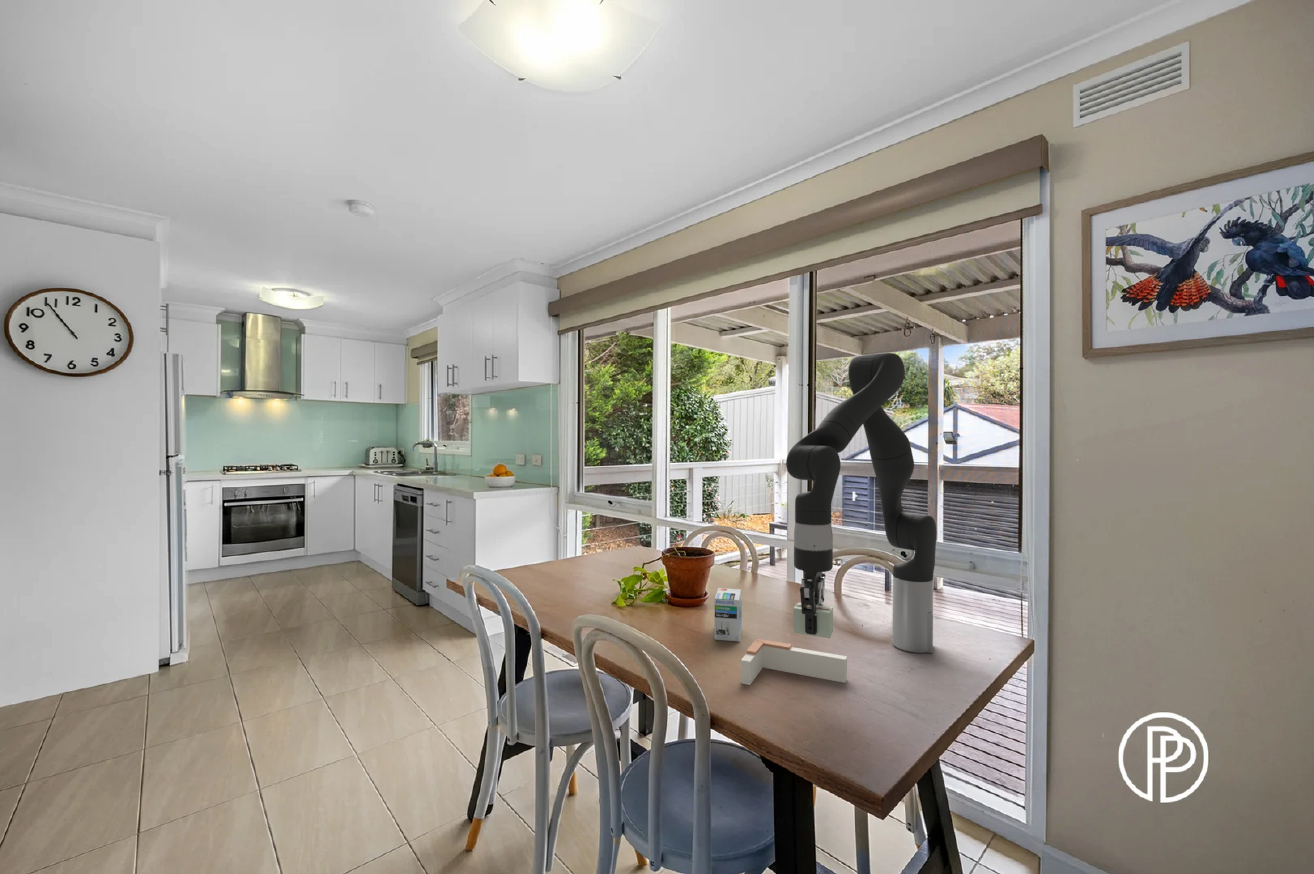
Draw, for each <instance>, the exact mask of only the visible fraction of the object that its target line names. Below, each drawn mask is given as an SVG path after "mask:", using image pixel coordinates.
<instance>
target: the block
mask: <svg viewBox="0 0 1314 874" xmlns="http://www.w3.org/2000/svg"><path fill="white" fill-rule="evenodd" d="M808 608H810V609H812V607H811V606H810V605H808ZM817 612H818V614H817V633H816V634H815V635H813V634H807V633H806V632H805V615H804V614H802V607H801V602H797V603H796V604H795V606H794V607H793V634H797V635H798V634H799V635H805V636H812V637H819V638H824V639H825V638H826V639H830V638H831V637H832V634H833V632H834V607H833V606H827V605H823V606H821V605H818V611H817Z"/></svg>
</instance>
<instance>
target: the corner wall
mask: <svg viewBox="0 0 1314 874" xmlns="http://www.w3.org/2000/svg"><path fill="white" fill-rule="evenodd" d="M763 669H769V670H774V671H779V672H785V673H791V674H795V675H801V676H807V677H812V678H815V679H817V678H818V679H822V680H827V681H831V682H832V681H833V682H837V683H838V682H839V683H845V684H846V683H847V680H848V656H846V655H841V654H835V653H829V652H822V651H818V650H813V649H805V648H800V647H793V646H792V643H785V642H780V641H773V640H767V639H763V638H762V639H761V638H755V640H754V641H753V643H751V645H749V647H748V648H747V649H746V653H745V655H744V656H743V657H742V658H741V660H740V684H743V685H748V686H751V685H752V683H753V682H754V681H755V679H756V677H757V676H758V675H759V674H760V672H761V671H762V670H763Z"/></svg>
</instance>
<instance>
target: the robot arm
mask: <svg viewBox="0 0 1314 874" xmlns="http://www.w3.org/2000/svg"><path fill="white" fill-rule="evenodd" d="M847 374H848V381H849V387H850V389H851V392H852V395H851V396H849V397H848V398H846V399H845V400H843V401H841V402H840V403H838V404H836V405H835V406H834V407H833V408H832V409H831V410H829V412H828V413H827V414H826V416H825V417H824V418H823V420H822V421H821V422H820V423H819V425H818V426H817V428H815V429H814V430H812V431H811V432H809V433H808V434H807V435H805V436H804V437H803V438H801V439H800V440H799V441H797V442H796V443H795V444H794V445H793V446H792V447H791V449H790V450H789V452H788V453H787V456H786V462H785V465H786V466H785V467H786V470H787V472H788V475H790V476H791V477H792V478H794V479H797V480H801V481H813V483H814V484H813V487H811V490H810V491H804V492H800V493H798V494H796V497H795V500H794V501H795V502H794V511H795V512H794V528H793V565H794V568H795V569H797V570H799V571H802V572H803V573H804V576H803V577H802V578H801V580H800V581H801V583H800V585H801V587H800V588H799V592H800V603H801V607H802V614H804V615H805V632H806V633H807V634H813V635H815V634H816V633H817V614H818V612H817V611H818V605H821V606H824V604H823V603H824V602H825V589H826V588H825V585H826V577H827V576H826V572H830V571H832V570H833V567H834V561H833V560H834V558H833V557H834V556H833V555H834V554H833V551H834V550H833V547H834V545H833V543H834V542H833V541H834V538H833V537H834V535H833V528H832V501H833V498H834V494H835V490H836V486H837V484H838V483H837V482H838V479H839V476H840V472H841V458H840V455H839V454H840V453H841V452H843V451H844V450H845V449H846V448H847V447H848V445H849V444H850V442H851V441H852V440H853V438H854V437H855V435H856V433H858V431H859V430H860V429H861V427H862V426H863V429H864V433H865V436H866V437H865V438H866V441H867V445H868V449H869V450H868V452H869V456H870V460H871V464H872V468H873V471H874V475H875V478H876V482H877V487H878V492H879V495H880V502H881V510H882V517H883V523H884V531H885V536H886V539H887V541H888V543H889V544H890V545H891V546H892V547H894V548H896V549H902V550H908V551H914V555H913V558H912V559H909V560H905V561H901V562H896V563H894V564H893V566H892V621H891V622H892V624H891V625H892V629H891V630H892V633H891V634H892V635H891V638H892V645H893V646H894V647H895V648H897V649H899V650H902V651H906V652H910V653H920V654H921V653H922V654H923V653H931V654H932V653H934V648H933V647H934V571H935V565H936V564H935V563H936V547H937V546H936V545H937V535H938V534H937V524H936V521H935V518H934V517H933V516H931V515H929V514H924V513H916V512H907V511H904V508H903V504H902V496H903V492H904V490H905V488H906V487H907V484H908V483H909V481H910V480H911V477H912V476H913V474H914V469H915V460H914V456H913V450H912V447H911V442H910V440H909V438H908V436H907V435H906V433H905V432H904V431H903V430H902V428H901V427H899V425H898V424H897V423H896V422H895V421H894V420H893V418H891V416H889V415H888V413H887V412H886V411H885V409H884V408H883V405H884V404H885V403H886V402H887V401H888V400H889V399H890V398H891V397H893V396H894V395H895V394H896V393H897V392H898V391H899V389H901V387H902V385H903V384H904V381H905V380H904V379H905V375H906V369H905V363H904V362H903V359H902V357H901V356H899V354H896V353H891V352H880V353H871V354H870V353H869V354H863V355H857V356H854V357H852V359H851V360H850V362H849V364H848V371H847ZM808 605H810V606H811V607H812V609H810V608H808Z"/></svg>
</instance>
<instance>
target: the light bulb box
mask: <svg viewBox="0 0 1314 874" xmlns="http://www.w3.org/2000/svg"><path fill="white" fill-rule="evenodd" d="M714 596H715V597H714V598H713V599H714V601H713V602H714V640H717V641H730V642H740V641H741V637H742V633H743V589H739V588H737V589H735V588H723V587H718V588H717V591H716V594H715V595H714Z"/></svg>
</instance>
